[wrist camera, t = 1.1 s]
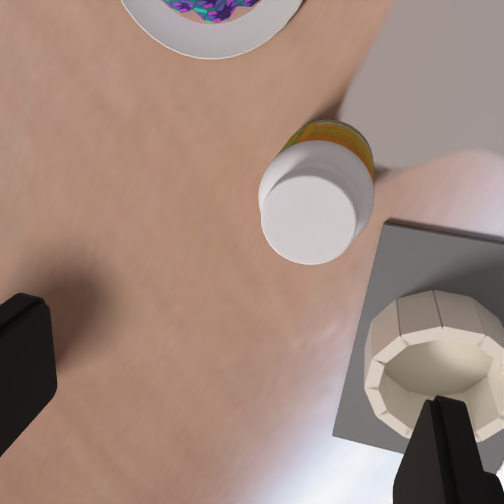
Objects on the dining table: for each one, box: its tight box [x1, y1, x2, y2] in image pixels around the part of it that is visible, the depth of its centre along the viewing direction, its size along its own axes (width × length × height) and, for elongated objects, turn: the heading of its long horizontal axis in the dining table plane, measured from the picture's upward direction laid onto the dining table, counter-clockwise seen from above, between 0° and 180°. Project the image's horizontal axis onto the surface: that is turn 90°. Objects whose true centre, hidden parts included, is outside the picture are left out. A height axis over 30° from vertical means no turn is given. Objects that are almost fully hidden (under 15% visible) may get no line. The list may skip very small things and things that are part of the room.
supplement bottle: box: [259, 120, 374, 265], centre depth 23 cm, size 5×5×10 cm
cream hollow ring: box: [364, 290, 504, 442], centre depth 28 cm, size 9×9×4 cm
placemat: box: [332, 222, 504, 475], centre depth 30 cm, size 18×12×1 cm, turn 175°
